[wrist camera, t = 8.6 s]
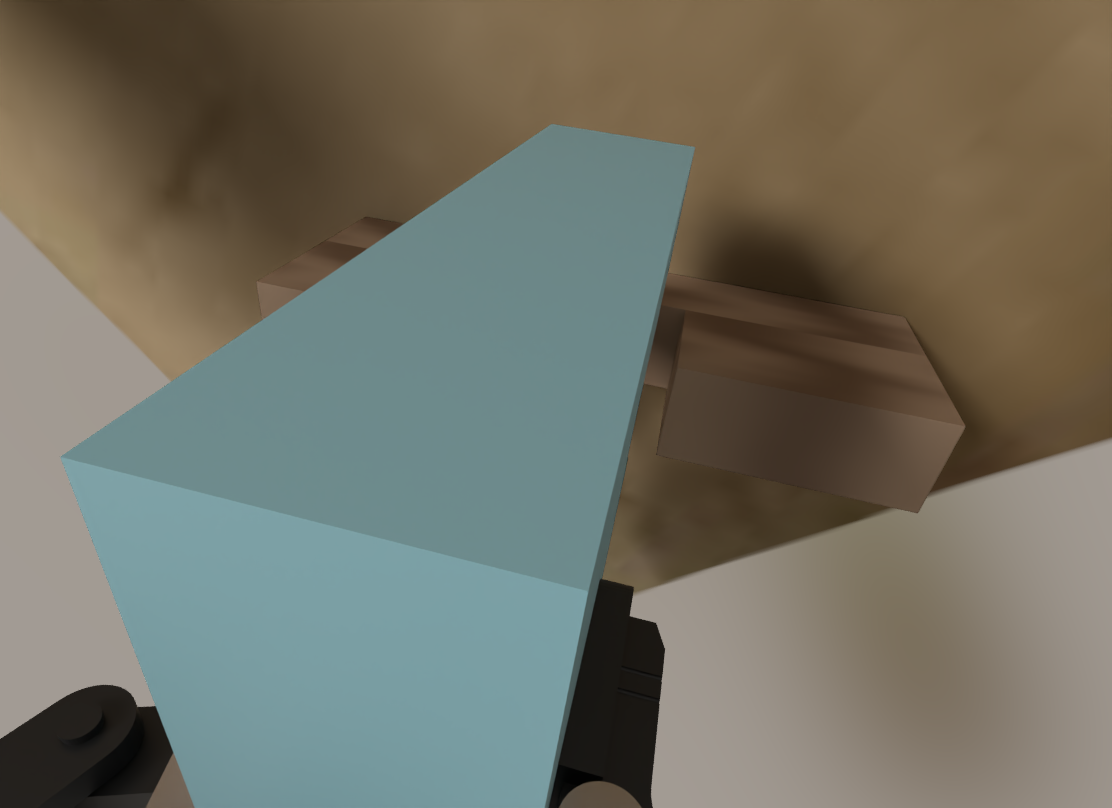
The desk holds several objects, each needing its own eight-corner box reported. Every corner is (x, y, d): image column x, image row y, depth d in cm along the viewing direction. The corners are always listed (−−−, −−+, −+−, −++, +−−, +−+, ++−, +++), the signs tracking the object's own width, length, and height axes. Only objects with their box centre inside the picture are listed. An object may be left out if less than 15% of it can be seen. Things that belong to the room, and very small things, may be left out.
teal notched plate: (605, 562, 23) (478, 1135, 11) (510, 539, 23) (293, 1066, 12) (695, 147, 15) (587, 591, 4) (551, 123, 16) (59, 456, 4)
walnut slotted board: (369, 289, 27) (269, 369, 21) (365, 216, 25) (256, 281, 19) (872, 390, 24) (917, 513, 18) (904, 316, 23) (965, 426, 17)
